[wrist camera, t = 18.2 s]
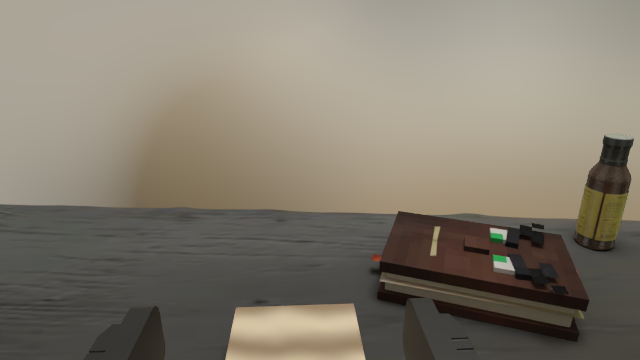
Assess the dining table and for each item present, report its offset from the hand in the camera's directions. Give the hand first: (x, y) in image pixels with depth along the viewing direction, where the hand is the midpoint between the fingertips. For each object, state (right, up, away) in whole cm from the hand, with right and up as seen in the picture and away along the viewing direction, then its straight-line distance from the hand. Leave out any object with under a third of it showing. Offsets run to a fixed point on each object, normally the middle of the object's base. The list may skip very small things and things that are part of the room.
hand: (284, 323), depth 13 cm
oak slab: (-1, -15, +30) cm, 34 cm away
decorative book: (+24, -12, +49) cm, 56 cm away
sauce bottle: (+51, -7, +60) cm, 79 cm away
